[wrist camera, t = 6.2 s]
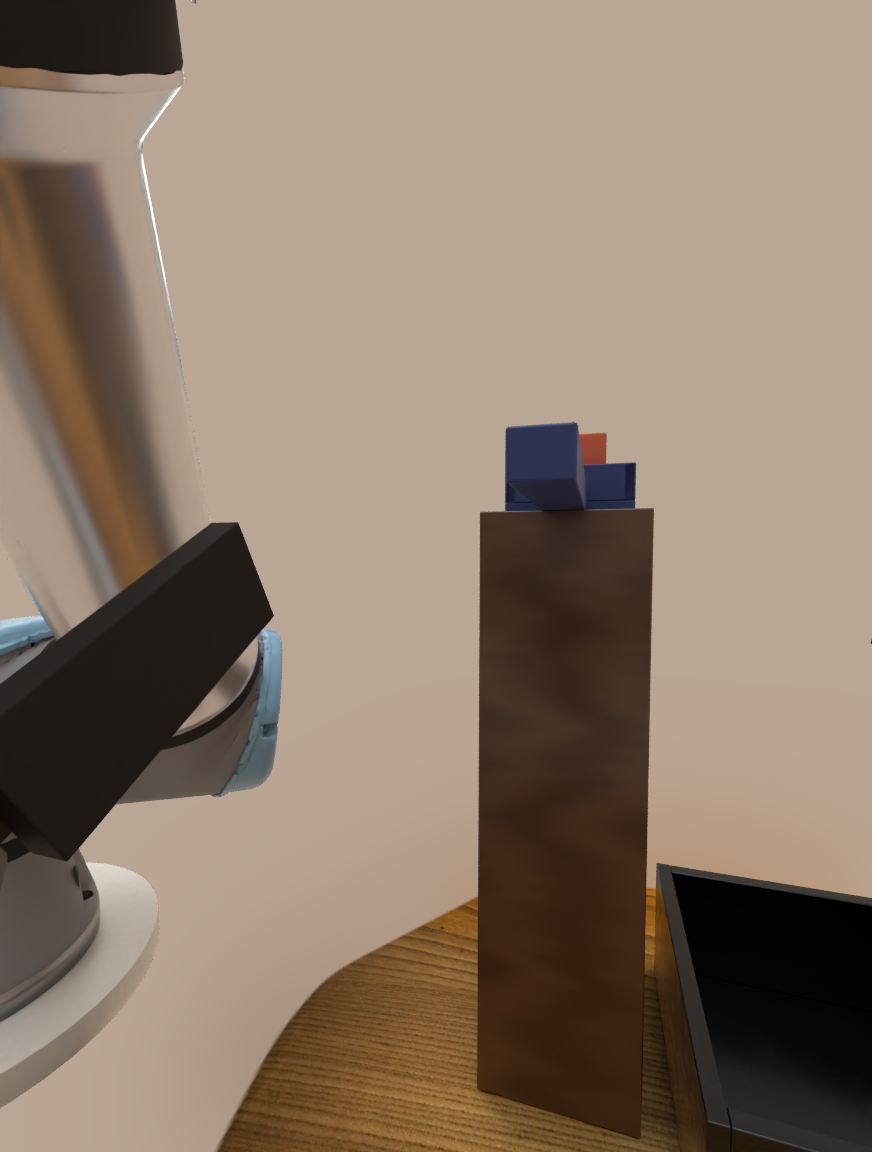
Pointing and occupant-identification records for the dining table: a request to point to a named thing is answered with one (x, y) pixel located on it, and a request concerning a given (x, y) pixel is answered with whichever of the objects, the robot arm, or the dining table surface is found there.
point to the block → (593, 448)
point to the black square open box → (765, 1013)
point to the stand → (564, 809)
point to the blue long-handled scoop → (561, 472)
